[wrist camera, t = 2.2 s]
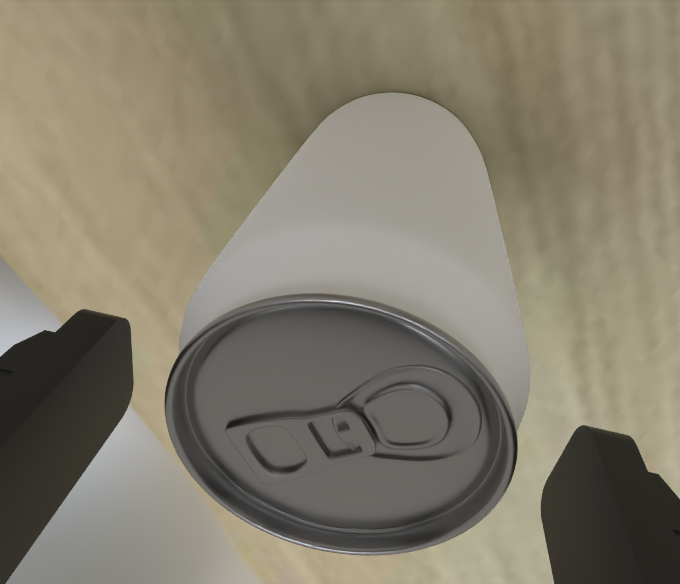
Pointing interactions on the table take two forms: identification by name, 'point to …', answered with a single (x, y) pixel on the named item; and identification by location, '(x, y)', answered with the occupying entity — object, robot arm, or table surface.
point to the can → (359, 342)
